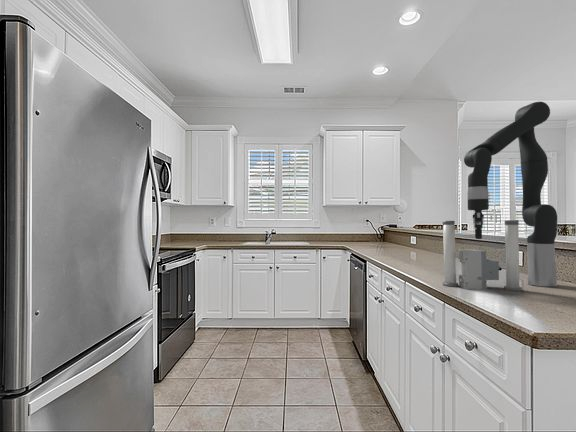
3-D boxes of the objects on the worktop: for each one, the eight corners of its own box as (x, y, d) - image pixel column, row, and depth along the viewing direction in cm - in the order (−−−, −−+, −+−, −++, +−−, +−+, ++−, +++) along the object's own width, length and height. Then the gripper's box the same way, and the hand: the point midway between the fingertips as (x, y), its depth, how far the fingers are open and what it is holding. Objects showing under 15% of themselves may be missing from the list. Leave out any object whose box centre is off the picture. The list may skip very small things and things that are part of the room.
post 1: (458, 284, 147) (456, 220, 147) (458, 287, 141) (456, 220, 142) (443, 283, 150) (441, 220, 150) (442, 286, 144) (440, 220, 145)
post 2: (521, 288, 137) (519, 220, 137) (523, 291, 131) (521, 220, 132) (503, 287, 139) (501, 220, 140) (504, 290, 134) (503, 220, 134)
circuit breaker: (503, 289, 135) (503, 251, 135) (464, 288, 138) (463, 251, 138) (496, 286, 143) (495, 249, 143) (458, 285, 145) (458, 249, 146)
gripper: (489, 197, 133) (490, 239, 133) (487, 199, 145) (488, 237, 145) (467, 197, 136) (467, 239, 136) (467, 199, 149) (467, 237, 149)
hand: (478, 238), depth 141 cm, fingers open, 8 cm apart
